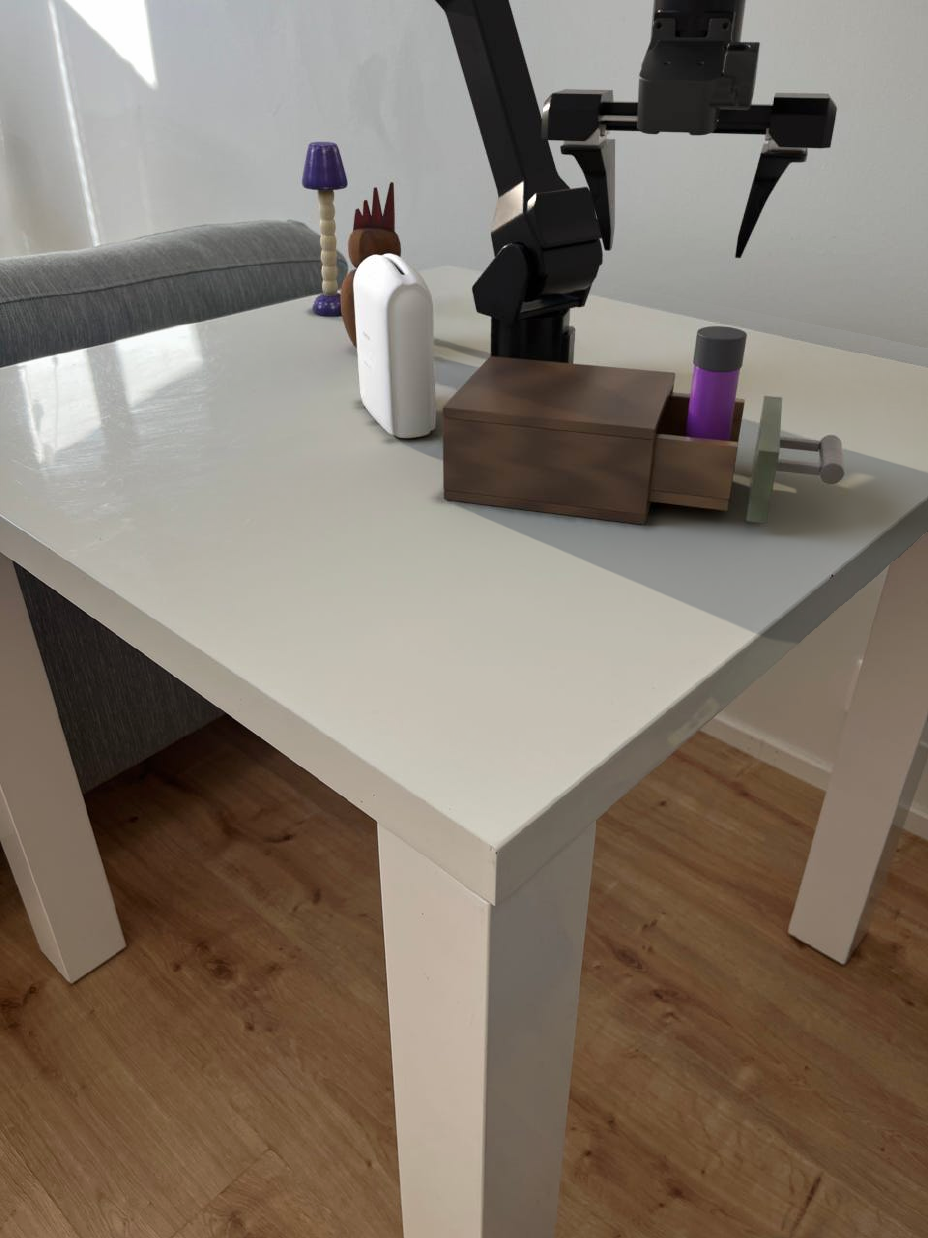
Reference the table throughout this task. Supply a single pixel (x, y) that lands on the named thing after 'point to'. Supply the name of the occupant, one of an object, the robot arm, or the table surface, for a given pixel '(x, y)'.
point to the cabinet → (555, 438)
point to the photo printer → (395, 345)
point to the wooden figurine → (368, 248)
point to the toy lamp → (326, 216)
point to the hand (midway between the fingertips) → (672, 253)
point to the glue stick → (715, 381)
